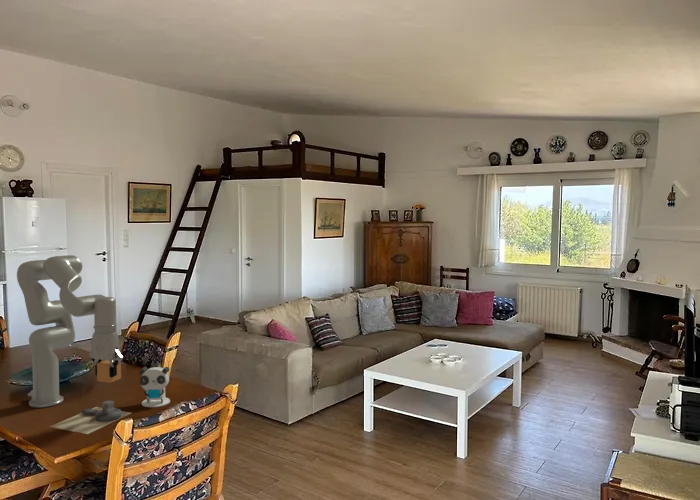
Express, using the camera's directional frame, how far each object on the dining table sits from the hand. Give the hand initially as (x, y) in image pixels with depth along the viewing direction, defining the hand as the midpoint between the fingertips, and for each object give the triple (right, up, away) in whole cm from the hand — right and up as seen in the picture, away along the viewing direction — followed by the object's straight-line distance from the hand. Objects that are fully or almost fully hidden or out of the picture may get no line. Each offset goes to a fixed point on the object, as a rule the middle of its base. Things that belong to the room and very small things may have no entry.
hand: (106, 375), depth 205 cm
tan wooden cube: (0, -2, +2) cm, 3 cm away
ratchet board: (-5, -18, -1) cm, 19 cm away
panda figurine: (+11, -17, +21) cm, 29 cm away
